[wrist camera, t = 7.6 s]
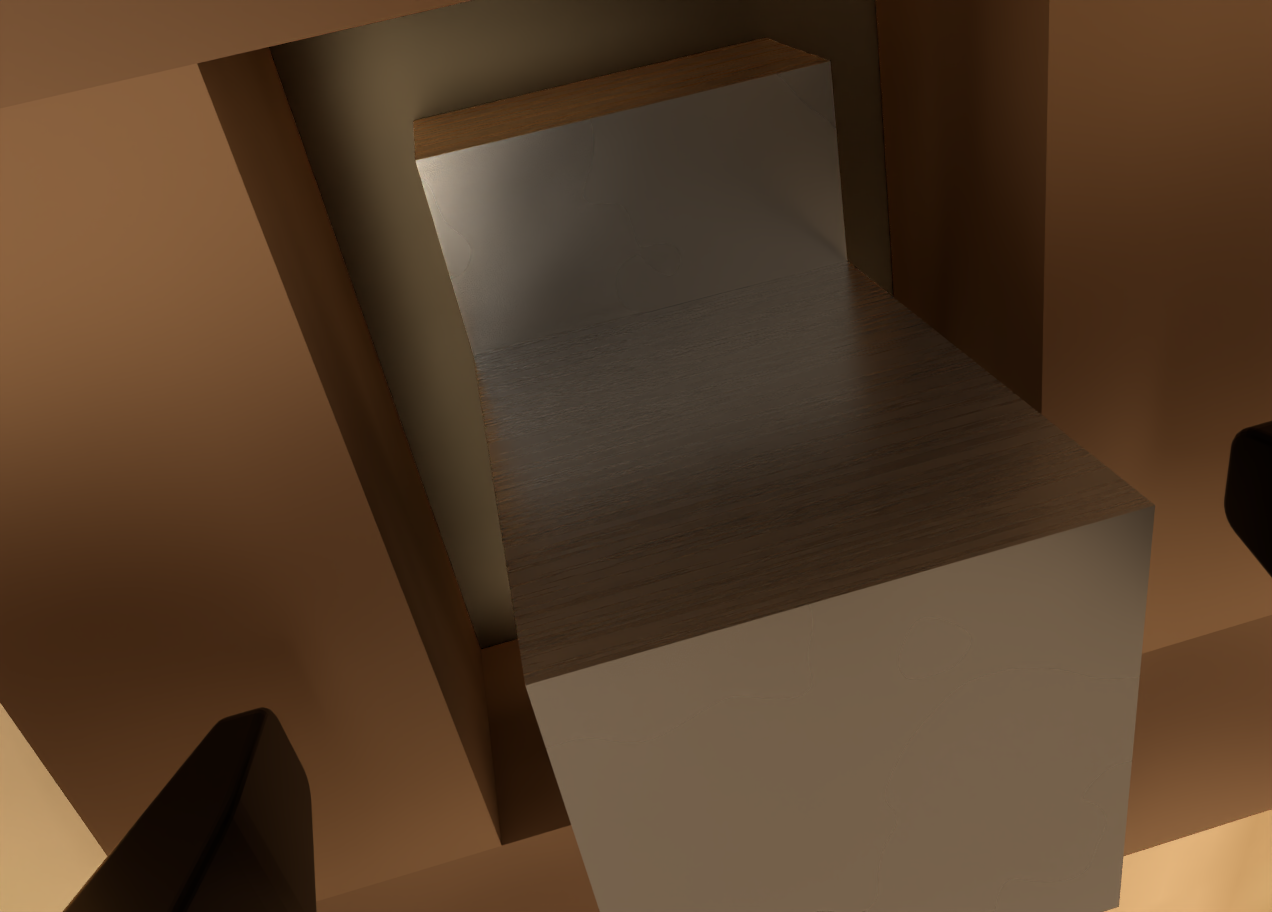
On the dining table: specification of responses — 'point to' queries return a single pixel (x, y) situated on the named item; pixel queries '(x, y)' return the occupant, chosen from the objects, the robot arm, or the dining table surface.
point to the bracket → (778, 519)
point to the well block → (386, 471)
